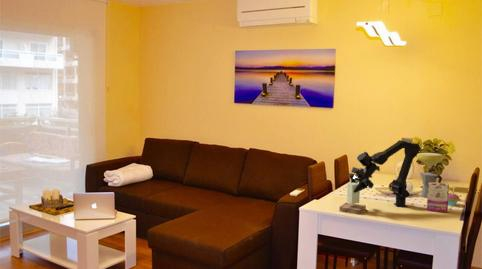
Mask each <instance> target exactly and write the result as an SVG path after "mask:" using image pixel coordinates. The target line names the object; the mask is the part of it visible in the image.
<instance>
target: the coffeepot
mask: <svg viewBox="0 0 482 269" xmlns="http://www.w3.org/2000/svg"><path fill="white" fill-rule="evenodd" d="M420 176H421V178H422V184H423V185H422V186H423V188H421V195H420V196H421V197H422V198H426V199H427V195H428V182H434V183H442V180H443V177H442V176H441V175H440V174H436V173H433V172H432V170H431V169H430V170H429V169H428V171H427V172H421V173H420ZM437 178H438V182H436V181H437Z"/></svg>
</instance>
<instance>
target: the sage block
mask: <svg viewBox="0 0 482 269" xmlns="http://www.w3.org/2000/svg"><path fill="white" fill-rule="evenodd" d="M358 184H359V182H358V183H351V182H347V186H346V187H347V188H346V190H347V191H346V195H347V196H346V203H351V204H359V203H360V191H361V190H360V191H358V192H356V193H354V190H355V188H356V187H357V186H358Z"/></svg>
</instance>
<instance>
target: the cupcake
mask: <svg viewBox="0 0 482 269" xmlns="http://www.w3.org/2000/svg"><path fill="white" fill-rule="evenodd" d="M459 200H460V196H459V195H458V194H456V193H455V186H453V188H452V192H451V193H449V192H448V206H450V205H451V207H454V206H456V205H457V203H458V202H459Z"/></svg>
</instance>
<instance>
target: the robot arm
mask: <svg viewBox="0 0 482 269" xmlns="http://www.w3.org/2000/svg"><path fill="white" fill-rule="evenodd" d="M402 149H404V150H403V151H404V158H403V162H402V164H401V167H400V171H399V173H398V176H397V178H396V179H393V180H392V183H391V185H390V186H391V187H390V189H391V191H392V194H393V195H395V202H394V203H393V205H394V206H395V207H398V208H399V207H401V208H402V207H404V208H408V205H407V202H406V201H407V200H406V199H407V198H409V197H410V192H409V190H407V187H408V186H407V185H408V184H407V179H408V176H409V173H410V169H411V167H412V163H413V161H414V159H415V157H417V154H418V152H420V151H421V146H420V144H419V143H416V142H415V143H414V142H407V141H405V140H397V141H396V142H395V143H393V144H392V145H391V146H389V147H388V148H386V149H385V150H383V151H379V152H376V153H373V155H371V156H370V154H369V153H368V152H367V151H364V152H363V153H360V154H358V155H357V157H356V160H357V161H358V162H359V163H360V164H361V165H362V166H363V167H364V168H362V167H360V168H358V167H354V166H353V167H352V168H351V171H350V173H349V174H348V175H347V177H348V178H349V179H350V183H358V186H357V187H356V188H355V190H354V193H356V192H358V191H363V190H365V189H368V188H369V189H373V187H374V183H373V182H372V180H370V179H372V178H373V174H374V173H375V172H376V171H378V172H380V171H381V168H380V166H382V165H384V164H385V163H386V162H387V161H388V160H389V158H390V157H391V156H393V155H395V154H396V153H397V152H399V151H400V150H402ZM379 165H380V166H379Z"/></svg>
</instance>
